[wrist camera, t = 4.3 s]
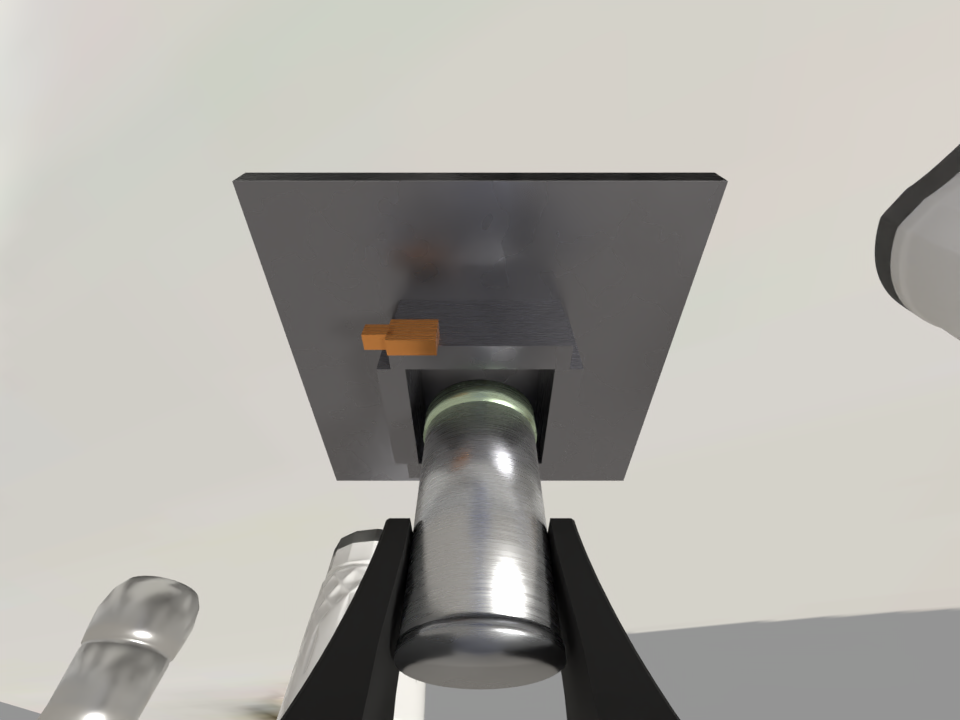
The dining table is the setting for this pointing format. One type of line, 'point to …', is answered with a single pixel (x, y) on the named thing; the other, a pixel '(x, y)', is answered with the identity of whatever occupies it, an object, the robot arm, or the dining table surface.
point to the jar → (925, 246)
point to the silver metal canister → (480, 548)
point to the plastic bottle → (125, 651)
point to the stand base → (480, 301)
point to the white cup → (328, 613)
